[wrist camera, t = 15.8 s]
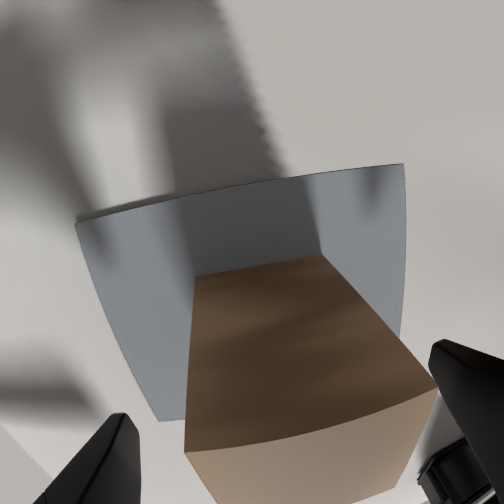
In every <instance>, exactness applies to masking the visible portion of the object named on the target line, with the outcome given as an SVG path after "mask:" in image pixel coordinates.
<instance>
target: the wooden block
mask: <svg viewBox="0 0 504 504" xmlns="http://www.w3.org/2000/svg"><path fill="white" fill-rule="evenodd" d="M438 389H439V386H438V384H437V383H436V382H435V381H434V379H433V378H432V377H431V376H430V375H429V374H428V372H427V371H426V370H425V369H424V367H423V366H422V365H421V364H420V363H419V362H418V360H417V359H416V358H415V357H414V356H413V355H412V353H411V352H410V351H409V350H408V348H407V347H406V346H405V345H404V344H403V343H402V341H401V340H400V339H399V338H398V337H397V336H396V335H395V333H394V332H393V331H392V330H391V329H390V328H389V327H388V325H387V324H386V323H385V322H384V321H383V320H382V319H381V317H380V316H379V315H378V314H377V313H376V312H375V311H374V310H373V309H372V307H371V306H370V305H369V304H368V303H367V302H366V301H365V300H364V299H363V297H362V296H361V295H360V294H359V293H358V292H357V291H356V290H355V289H354V288H353V286H352V285H351V284H350V283H349V282H348V281H347V280H346V279H345V278H344V277H343V276H342V275H341V274H340V272H339V271H338V270H337V269H336V268H335V267H334V266H333V265H332V264H331V263H330V262H329V261H328V260H327V259H326V258H325V257H324V255H323V254H317V255H312V256H306V257H301V258H296V259H290V260H285V261H280V262H274V263H269V264H263V265H258V266H252V267H247V268H241V269H236V270H230V271H224V272H219V273H213V274H208V275H202V276H196V279H195V289H194V299H193V310H192V321H191V333H190V346H189V360H188V376H187V393H186V414H185V441H184V453H185V455H186V457H187V458H188V460H189V461H190V463H191V465H192V466H193V468H194V470H195V471H196V473H197V474H198V476H199V477H200V479H201V480H202V482H203V483H204V485H205V486H206V488H207V489H208V491H209V492H210V494H211V495H212V497H213V498H214V500H215V501H216V503H217V504H351V503H354V502H357V501H360V500H363V499H366V498H369V497H371V496H374V495H377V494H379V493H382V492H384V491H387V490H389V489H392V488H394V487H395V486H396V484H397V482H398V480H399V478H400V477H401V475H402V473H403V471H404V469H405V467H406V465H407V463H408V461H409V459H410V457H411V455H412V453H413V451H414V448H415V446H416V444H417V442H418V440H419V437H420V435H421V433H422V430H423V428H424V426H425V423H426V421H427V418H428V416H429V413H430V411H431V408H432V405H433V403H434V400H435V397H436V395H437V392H438Z"/></svg>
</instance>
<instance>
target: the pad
mask: <svg viewBox="0 0 504 504" xmlns="http://www.w3.org/2000/svg"><path fill="white" fill-rule="evenodd" d="M74 225H75V228H76V232H77V235H78V238H79V242H80V245H81V248H82V251H83V254H84V257H85V260H86V263H87V266H88V269H89V272H90V275H91V278H92V281H93V283H94V286H95V289H96V292H97V294H98V297H99V299H100V302H101V305H102V307H103V310H104V312H105V314H106V317H107V319H108V322H109V324H110V326H111V329H112V331H113V333H114V336H115V338H116V340H117V342H118V345H119V347H120V349H121V351H122V353H123V355H124V357H125V360H126V362H127V364H128V366H129V368H130V370H131V372H132V374H133V376H134V378H135V380H136V382H137V384H138V386H139V387H140V389H141V391H142V393H143V395H144V397H145V399H146V401H147V402H148V404H149V406H150V408H151V409H152V411H153V413H154V415H155V416H156V418H157V420H158V422H163V421H174V420H184V419H185V414H186V393H187V376H188V360H189V346H190V333H191V321H192V310H193V299H194V289H195V279H196V276H202V275H208V274H213V273H219V272H224V271H230V270H236V269H241V268H247V267H252V266H258V265H263V264H269V263H274V262H280V261H285V260H290V259H296V258H301V257H306V256H312V255H317V254H323V255H324V257H325V258H326V259H327V260H328V261H329V262H330V263H331V264H332V265H333V266H334V267H335V268H336V269H337V270H338V271H339V272H340V274H341V275H342V276H343V277H344V278H345V279H346V280H347V281H348V282H349V283H350V284H351V285H352V286H353V288H354V289H355V290H356V291H357V292H358V293H359V294H360V295H361V296H362V297H363V299H364V300H365V301H366V302H367V303H368V304H369V305H370V306H371V307H372V309H373V310H374V311H375V312H376V313H377V314H378V315H379V316H380V317H381V319H382V320H383V321H384V322H385V323H386V324H387V325H388V327H389V328H390V329H391V330H392V331H393V332H394V333H395V335H396V336H397V337H398V338H399V335H400V326H401V316H402V307H403V294H404V281H405V261H406V260H405V259H406V193H405V174H404V164H390V165H381V166H371V167H363V168H354V169H346V170H338V171H330V172H323V173H315V174H309V175H302V176H295V177H289V178H282V179H276V180H270V181H264V182H258V183H252V184H247V185H241V186H236V187H230V188H225V189H220V190H215V191H209V192H204V193H200V194H195V195H190V196H185V197H180V198H176V199H171V200H167V201H162V202H158V203H153V204H149V205H145V206H141V207H136V208H132V209H128V210H124V211H120V212H116V213H112V214H108V215H104V216H101V217H97V218H93V219H89V220H86V221H82V222H78V223H76V224H74Z"/></svg>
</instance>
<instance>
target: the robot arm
mask: <svg viewBox="0 0 504 504" xmlns="http://www.w3.org/2000/svg"><path fill="white" fill-rule="evenodd" d="M428 366H429V370H430V372H431V374H432V376H433V378H434V380H435V382H436V383H437V384H438V386H439V390H440V393H441V395H442V397H443V399H444V401H445V403H446V405H447V407H448V409H449V410H450V412H451V414H452V415H453V417H454V419H455V420H456V422H457V424H458V425H459V427H460V429H461V430H462V432H463V434H464V435H465V437H466V438H464V439H462V440H461V441H459V442H457V443H456V444H454V445H452V446H450V447H449V448H447V449H445V450H443V451H441V452H440V453H438V454H436V455H434V456H433V457H432V458H431V460H430V462H429V463H428V465H427V467H426V469H425V470H424V472H423V474H422V475H421V477H420V479H419V480H418V482H417V483H418V485H421V486H422V488H423V490H424V492H425V494H426V496H427V497H428V499H429V501H430V503H431V504H477V503H479V502H480V501H481V500H483V499H484V498H485V497H486V496H488V495H489V494H490V493H491V492H492V491H494V490H495V492H496V493H495V494H494V495H493V496H492V497H490V498H489V499H488V500H487V501H485V502H484V503H483V504H504V360H502V359H499V358H497V357H494V356H491V355H488V354H486V353H483V352H480V351H477V350H474V349H472V348H469V347H466V346H463V345H460V344H458V343H455V342H452V341H450V340H447V339H442V340H440V341H437V342H435V343H434V344H433V345H432V349H431V353H430V358H429V362H428ZM140 498H141V463H140V437H139V432H138V430H137V428H136V426H135V425H134V423H133V422H132V420H131V419H130V417H129V416H128V414H126V413H113V414H111V415H110V417H109V418H108V419H107V420H106V421H105V422H104V423H103V425H102V426H101V427H100V428H99V429H98V430H97V431H96V433H95V434H94V435H93V436H92V437H91V438H90V439H89V441H88V442H87V443H86V444H85V445H84V446H83V447H82V449H81V450H80V451H79V452H78V453H77V454H76V455H75V456H74V458H73V459H72V460H71V461H70V462H69V463H68V464H67V466H66V467H65V468H64V469H63V470H62V471H61V472H60V474H59V475H58V476H57V477H56V478H55V479H54V480H53V482H52V483H51V484H50V485H49V486H48V487H47V488H46V490H45V492H43V493H42V494H41V495H40V496H39V497H38V498H37V500H36V501H35V502H34V503H33V504H140Z"/></svg>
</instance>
